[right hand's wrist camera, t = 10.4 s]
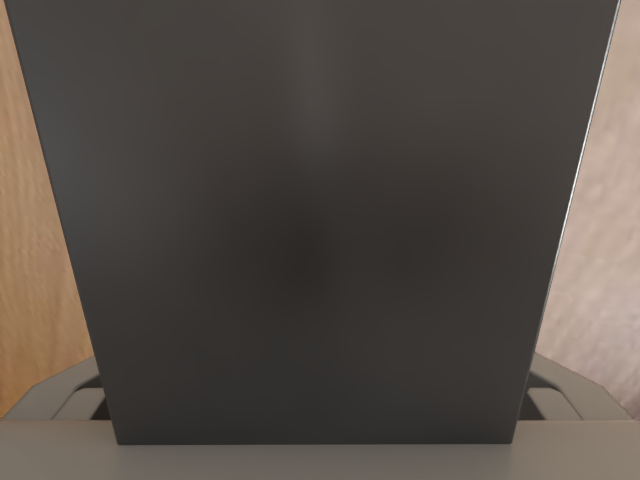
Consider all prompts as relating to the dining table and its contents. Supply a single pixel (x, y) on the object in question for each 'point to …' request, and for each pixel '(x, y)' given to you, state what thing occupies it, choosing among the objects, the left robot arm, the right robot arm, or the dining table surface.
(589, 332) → the dining table surface
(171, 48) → the bar
